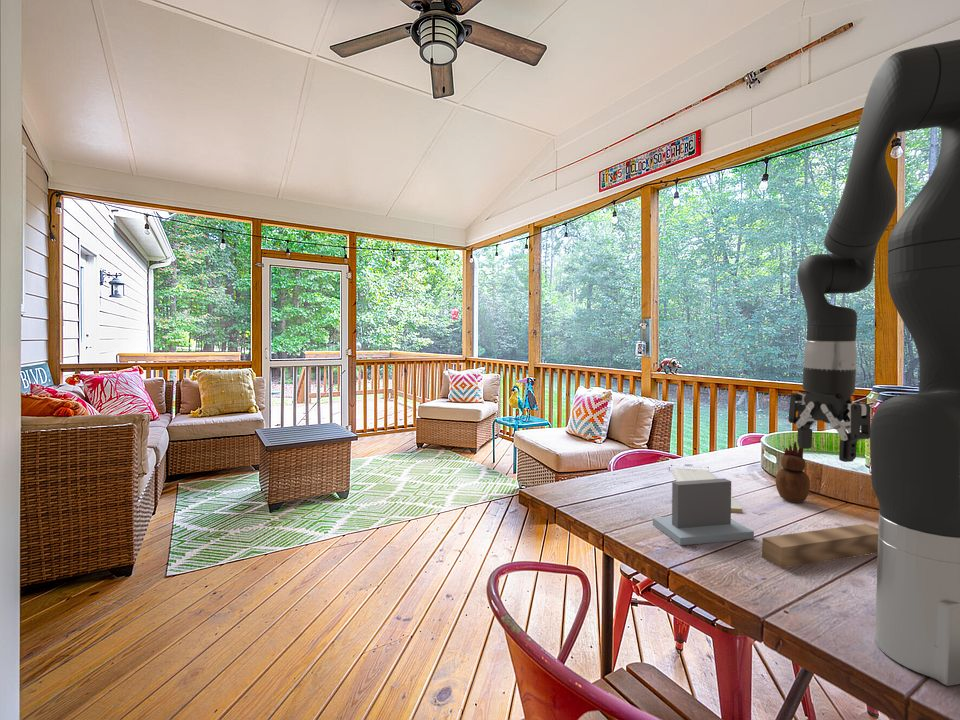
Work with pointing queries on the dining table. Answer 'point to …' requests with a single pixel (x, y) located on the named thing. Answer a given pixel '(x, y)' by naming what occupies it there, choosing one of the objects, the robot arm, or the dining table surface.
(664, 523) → the fulcrum board
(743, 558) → the dining table surface
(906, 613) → the robot arm
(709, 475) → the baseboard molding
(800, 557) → the walnut bar
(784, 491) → the wooden figurine
